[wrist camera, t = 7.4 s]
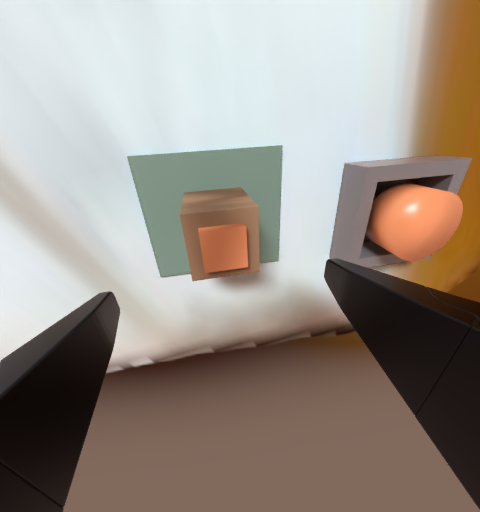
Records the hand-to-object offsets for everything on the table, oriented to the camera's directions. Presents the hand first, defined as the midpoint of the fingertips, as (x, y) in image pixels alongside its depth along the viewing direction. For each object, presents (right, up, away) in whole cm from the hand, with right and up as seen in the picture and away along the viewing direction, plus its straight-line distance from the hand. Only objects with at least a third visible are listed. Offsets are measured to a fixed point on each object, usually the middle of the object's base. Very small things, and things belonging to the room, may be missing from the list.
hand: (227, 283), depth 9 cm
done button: (+13, +4, +8) cm, 16 cm away
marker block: (-1, +4, +7) cm, 8 cm away
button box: (+12, +5, +10) cm, 17 cm away
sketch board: (-1, +4, +7) cm, 9 cm away
